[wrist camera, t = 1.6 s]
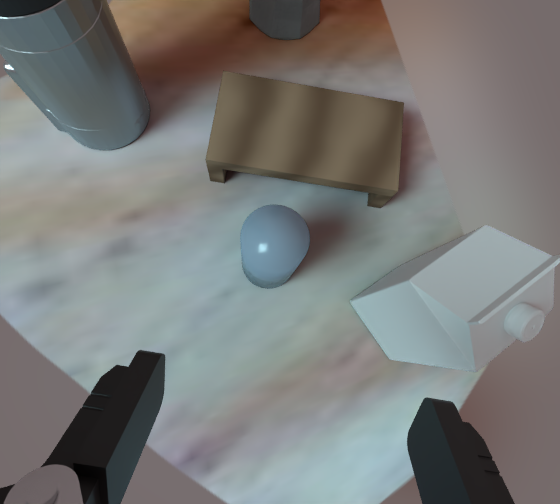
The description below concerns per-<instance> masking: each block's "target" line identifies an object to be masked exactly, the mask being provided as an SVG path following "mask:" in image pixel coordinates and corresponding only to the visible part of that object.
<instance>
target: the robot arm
mask: <svg viewBox="0 0 560 504" xmlns="http://www.w3.org/2000/svg"><path fill="white" fill-rule="evenodd" d="M0 54H1V55H2V56H3V58H4V59H5V62H4V70H5V71H6V73H7V74H8V75H9V76H10V77H11V78H12V79H13V80H14V82H15V83H16V84H17V85H18V86H19V87H20V88H21V89H22V90H23V91H24V93H25V94H26V95H27V96H28V97H29V98H30V99H31V100H32V101H33V103H34V104H35V105H36V106H37V107H38V108H39V109H40V110H41V111H42V112H43V114H44V115H45V116H46V117H47V118H48V119H49V120H50V121H51V122H52V123H53V125H54V126H55V127H56V128H57V129H58V130H60V131H65V132H68V133H69V134H70V135H71V136H72V137H73V138H74V139H75V140H76V141H77V142H79V143H81V144H82V145H84V146H87V147H89V148H92V149H98V150H112V149H117V148H121V147H123V146H125V145H128V144H129V143H131V142H132V141H134V140H135V139H136V138H138V137H139V136H140V135H141V134H142V132H143V131H144V129H145V128H146V126H147V123H148V120H149V114H150V108H149V102H148V100H147V97H146V95H145V91H144V90H143V88H142V85H141V83H140V80H139V78H138V75H137V73H136V70H135V68H134V65H133V63H132V61H131V58H130V56H129V53H128V51H127V48H126V46H125V44H124V41H123V39H122V36H121V34H120V32H119V29H118V27H117V24H116V22H115V20H114V17H113V15H112V12H111V10H110V8H109V5H108V3H107V0H0ZM164 381H165V355H164V354H161V353H155V352H149V351H143V350H139V351H138V352H137V353H136V355H135V357H134V358H133V360H132V362H131V363H130V365H129V367H126V366H120V365H116V366H115V367H113V368H112V369H111V370H110V371H108V372H107V373H106V374H104V375H103V376H102V377H101V378H100V380H99V381H98V383H97V384H96V386H95V387H94V389H93V390H92V392H91V395H89V396H88V398H87V400H86V401H85V403H84V404H83V407H82V408H81V409H80V410H79V412H78V413H77V415H76V416H75V418H74V419H73V421H72V423H71V424H70V426H69V427H68V429H67V430H66V432H65V433H64V435H63V436H62V438H61V440H60V441H59V443H58V444H57V446H56V447H55V449H54V450H53V452H52V453H51V455H50V456H49V458H48V459H47V461H46V462H45V463H44V464H43V465H42V466H41V467H40V468H38V469H36V470H34V471H32V472H30V473H28V474H27V475H25V476H24V477H23V478H21V479H20V480H19V481H18V482H17V483H16V484H13V485H10V486H8V487H4V488H0V504H120V503H121V501H122V499H123V496H124V494H125V491H126V489H127V487H128V484H129V482H130V479H131V477H132V475H133V472H134V470H135V467H136V465H137V463H138V460H139V458H140V456H141V453H142V451H143V448H144V446H145V444H146V441H147V439H148V436H149V434H150V432H151V429H152V427H153V424H154V422H155V420H156V417H157V415H158V413H159V410H160V407H161V404H162V400H163V395H164ZM407 446H408V452H409V456H410V460H411V463H412V467H413V471H414V474H415V478H416V482H417V485H418V489H419V493H420V496H421V500H422V504H515V503H514V502H513V499H512V497H511V495H510V493H509V491H508V489H507V487H506V485H505V483H504V481H503V479H502V477H501V476H500V475H499V473H500V472H499V470H498V468H497V466H496V464H495V462H494V461H492V456H491V454H490V452H489V450H488V448H487V446H486V443H485V441H484V439H482V437H481V436H480V435H479V434H478V432H477V431H476V430H475V429H474V428H473V427H472V426H471V424H470V423H467V422H462V419H461V417H460V415H459V413H458V410H457V408H456V406H455V405H454V403H453V402H451V401H445V400H438V399H432V398H425V399H424V400H423V402H422V404H421V406H420V408H419V410H418V412H417V414H416V416H415V418H414V421H413V423H412V425H411V427H410V429H409V432H408V438H407Z"/></svg>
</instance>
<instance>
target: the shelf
mask: <svg viewBox="0 0 560 504" xmlns="http://www.w3.org/2000/svg"><path fill="white" fill-rule="evenodd" d="M403 109H404V103H403V102H398V101H392V100H386V99H380V98H375V97H369V96H363V95H358V94H352V93H346V92H341V91H335V90H329V89H324V88H318V87H312V86H307V85H301V84H295V83H290V82H284V81H278V80H273V79H267V78H261V77H255V76H250V75H244V74H238V73H233V72H227V71H223V75H222V80H221V85H220V90H219V95H218V100H217V105H216V110H215V115H214V120H213V125H212V130H211V135H210V140H209V145H208V150H207V155H206V163H207V168H208V172H209V176H210V181H214V182H221V183H224V182H225V176H226V171H227V170H232V171H238V172H244V173H250V174H256V175H263V176H269V177H275V178H281V179H287V180H293V181H300V182H306V183H312V184H318V185H324V186H330V187H337V188H343V189H349V190H355V191H361V192H367V193H369V194H368V206H371V207H377V208H381V207H382V206H383V205H384V204H385V203H386V202H387V201H388V200H389V199H390V198H391V197H392V196H394V195H395V194H396V193H397V192H398V186H399V171H400V155H401V140H402V124H403Z"/></svg>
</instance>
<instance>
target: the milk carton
mask: <svg viewBox="0 0 560 504" xmlns="http://www.w3.org/2000/svg"><path fill="white" fill-rule="evenodd" d="M559 263H560V254H558V255H555V256H552V255H550V254H548V253H546V252H544V251H542V250H539V249H537V248H535V247H533V246H531V245H529V244H527V243H525V242H522V241H520V240H518V239H516V238H514V237H512V236H510V235H507V234H506V233H503V232H501V231H499V230H497V229H495V228H493V227H491V226H489V225H485V226H483V227H480V228H478V229H476V230H474V231H472V232H470V233H468V234H466V235H463V236H461V237H459V238H457V239H455V240H453V241H451V242H449V243H447V244H445V245H442V246H440V247H438V248H436V249H434V250H432V251H430V252H428V253H426V254H424V255H421V256H419V257H417V258H415V259H413V260H411V261H409V262H407V263H405V264H402V265H400V266H399V267H397V268H396V269H394V270H393V271H391V272H390V273H389V274H387V275H386V276H384V277H383V278H381V279H380V280H379V281H377V282H376V283H374V284H373V285H371V286H370V287H369V288H367V289H366V290H364V291H363V292H362V293H360V294H359V295H357V296H356V297H354V298H353V299H352V300H351V301H350V304H351V305H352V306H353V308H354V309H355V311H356V312H357V314H358V315H359V316H360V318H361V319H362V321H363V322H364V324H365V325H366V326H367V328H368V329H369V331H370V332H371V334H372V335H373V336H374V338H375V339H376V341H377V342H378V344H379V345H380V346H381V348H382V349H383V351H384V352H385V354H386V355H387V357H388V358H389V359H390V360H397V361H403V362H410V363H417V364H424V365H430V366H437V367H444V368H451V369H457V370H464V371H472V372H477V371H478V370H480V369H481V368H482V367H484V366H485V365H486V364H487V363H489V362H490V361H491V360H492V359H494V358H495V357H496V356H497V355H499V354H500V353H501V352H502V351H503V350H505V349H506V348H507V347H508V346H509V345H510V344H512V343H513V342H514V341H515V340H517V339H518V340H519V341H521V342H528V341H530V340H532V339H533V338H534V337H535V336H536V335H537V334H538V333H539V332H540V330H541V329H542V327H543V324H544V321H545V316H546V315H547V314H548V313H549V312H550V311H551V310H552V309H553V306H554V272H555V271H554V270H555V266H556V265H558V264H559Z"/></svg>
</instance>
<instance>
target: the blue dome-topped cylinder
mask: <svg viewBox="0 0 560 504" xmlns="http://www.w3.org/2000/svg"><path fill="white" fill-rule="evenodd" d="M240 239H241V255H242V267H243V271H244V273H245V275H246V277H247V278H248V280H249V281H250V282H252V283H253V284H254V285H256V286H258V287H261V288H267V289H270V288H276V287H279V286H281V285H283V284H284V283H285V282H286V281H287V280H288V279H289V278H290V277H291V275H292V274H293V272H294V271H295V270H296V268H297V267H298V265H299V264H300V262H301V261H302V260H303V258H304V257H305V255H306V253H307V251H308V248H309V244H310V234H309V230H308V227H307V225H306V223H305V221H304V220H303V218H302V217H301V216H300V215H299V214H298V213H297V212H296V211H294V210H293V209H291V208H289V207H286V206H282V205H267V206H263V207H261V208H258V209H257V210H255V211H254V212H252V213H251V214H250V215H249V216H248V217H247V219H246V220H245V222H244V224H243V226H242V229H241V236H240Z"/></svg>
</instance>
